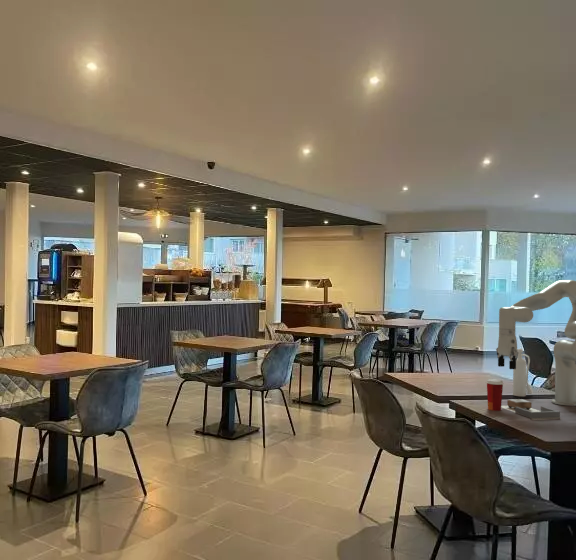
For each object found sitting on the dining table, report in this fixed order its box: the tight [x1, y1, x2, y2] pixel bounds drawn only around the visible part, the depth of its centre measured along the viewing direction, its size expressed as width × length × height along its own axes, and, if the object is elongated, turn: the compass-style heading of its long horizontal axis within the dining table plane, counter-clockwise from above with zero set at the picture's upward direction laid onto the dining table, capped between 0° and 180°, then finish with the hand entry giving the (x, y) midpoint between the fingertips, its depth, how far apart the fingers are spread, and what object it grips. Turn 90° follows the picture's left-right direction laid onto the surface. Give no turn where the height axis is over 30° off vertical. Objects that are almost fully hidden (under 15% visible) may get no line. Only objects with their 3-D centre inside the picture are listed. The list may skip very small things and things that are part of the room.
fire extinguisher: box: [512, 348, 534, 397], centre depth 314 cm, size 7×12×25 cm, turn 79°
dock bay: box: [501, 405, 561, 420], centre depth 269 cm, size 14×27×3 cm, turn 12°
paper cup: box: [485, 378, 504, 412], centre depth 272 cm, size 8×8×14 cm
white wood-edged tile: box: [506, 398, 532, 410], centre depth 274 cm, size 8×7×4 cm
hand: (506, 367), depth 284 cm, fingers open, 9 cm apart
